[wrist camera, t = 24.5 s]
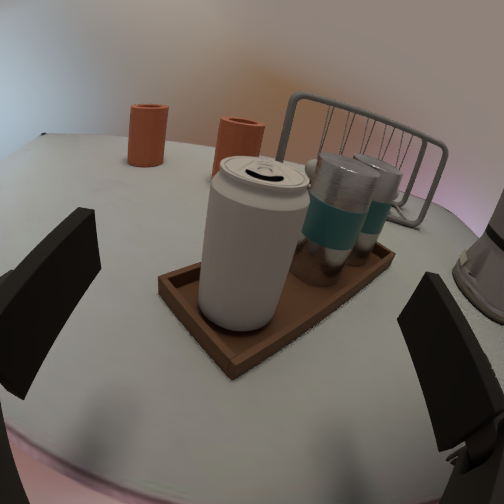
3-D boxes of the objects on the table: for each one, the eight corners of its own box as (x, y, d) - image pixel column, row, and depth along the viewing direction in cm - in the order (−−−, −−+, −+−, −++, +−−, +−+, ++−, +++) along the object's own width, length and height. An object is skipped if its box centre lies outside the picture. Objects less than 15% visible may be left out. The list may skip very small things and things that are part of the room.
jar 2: (260, 189, 49) (274, 126, 43) (228, 194, 44) (240, 125, 38) (234, 174, 52) (245, 117, 46) (203, 178, 48) (212, 116, 42)
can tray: (390, 265, 36) (395, 253, 35) (231, 380, 19) (235, 365, 17) (332, 228, 41) (336, 216, 40) (158, 292, 24) (157, 276, 23)
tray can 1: (349, 275, 31) (390, 176, 25) (319, 295, 27) (364, 178, 21) (309, 247, 35) (339, 152, 28) (275, 261, 31) (305, 151, 24)
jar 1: (168, 164, 52) (175, 108, 46) (135, 169, 47) (139, 109, 41) (154, 154, 55) (159, 103, 49) (123, 158, 51) (126, 104, 45)
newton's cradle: (402, 208, 58) (428, 135, 48) (419, 230, 49) (452, 146, 40) (272, 172, 58) (291, 89, 48) (269, 190, 49) (292, 88, 39)
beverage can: (190, 329, 21) (204, 174, 15) (204, 277, 26) (221, 147, 20) (273, 343, 21) (324, 197, 15) (272, 289, 27) (308, 164, 20)
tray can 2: (374, 258, 36) (409, 174, 29) (353, 272, 32) (393, 175, 25) (339, 234, 39) (367, 153, 32) (314, 245, 35) (344, 152, 29)
